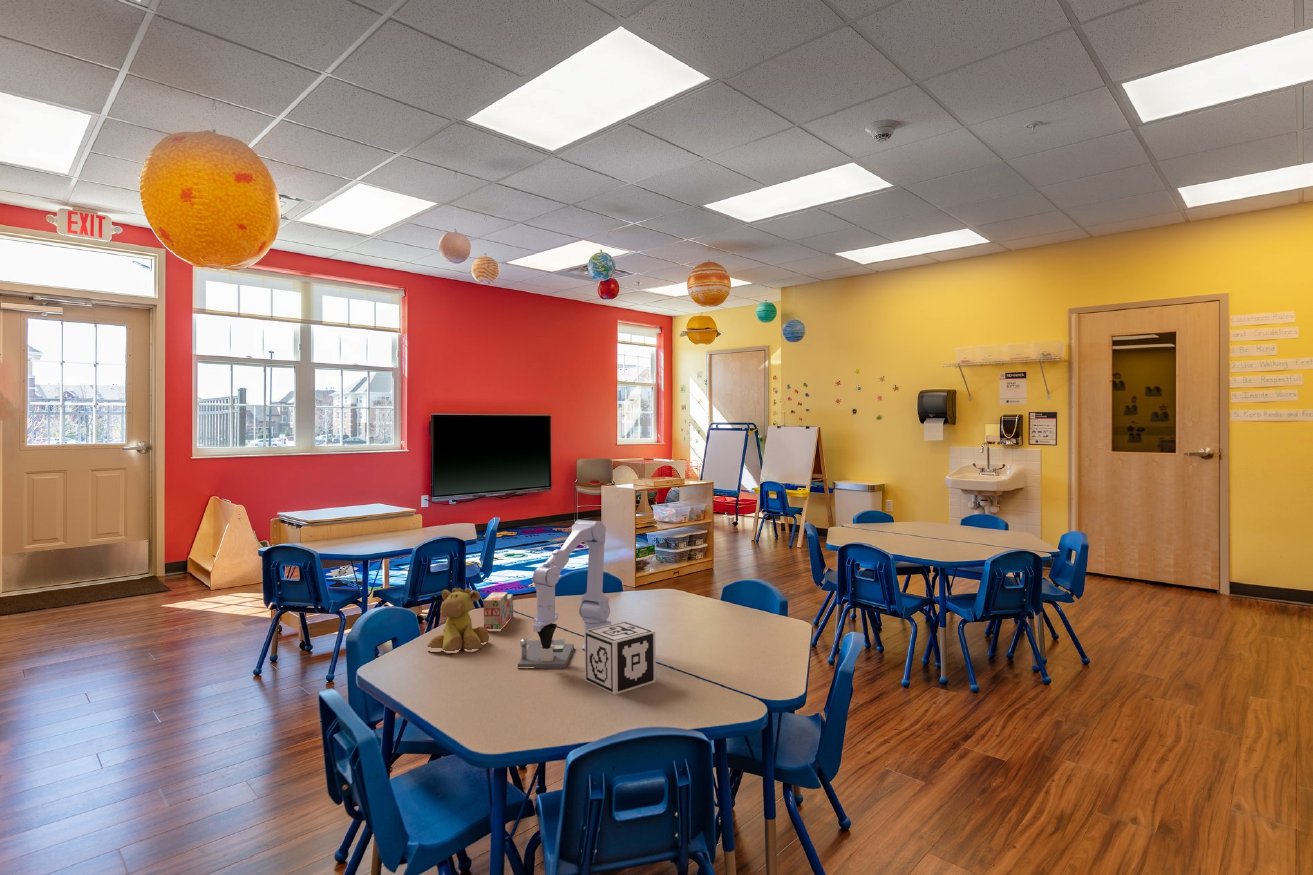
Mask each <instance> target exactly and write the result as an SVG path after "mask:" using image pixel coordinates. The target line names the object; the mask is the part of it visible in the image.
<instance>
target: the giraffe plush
mask: <svg viewBox="0 0 1313 875" xmlns="http://www.w3.org/2000/svg"><path fill="white" fill-rule="evenodd" d="M441 597H442V599H443V600H444V601H442V603H441V605H440V612H441V615H442V616H444V617H446V620H445V625H444V628H442V630H443V632H442V634H438V635H435V636H434V637H433V638H432V639H431V640H429V642H428V643H427V646H428V647H431V648H442V649H443V650H445V651H455V650H459V649H461V650H462V649H463V650H464V649H467V650H472V649H479V648H480V649H481V648H482V646H483V645H482V644H481V643H484V642H488V641H489V640H490V635H489V632H488V630H487V629H486V628H484V626H478V627H473V624H472V622H473V621H472V618H471V615H470V614H469V613H470V612H471V610H472V608H473V605H474V602H476V601H479V600H480V599H481V593H479V592H478V591H477V590H472V591H471V588H469V587H466V588H465V589H462V588H456V587H454V588H452V590H451V591H449V590H448V589H443V590H442V591H441ZM480 649H479V650H480Z"/></svg>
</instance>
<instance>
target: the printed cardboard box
mask: <svg viewBox="0 0 1313 875" xmlns="http://www.w3.org/2000/svg"><path fill="white" fill-rule="evenodd" d="M512 616H513V617H514V594H510V593H509V594H508V592H507V591H505V592H504V591H503V592H501V591H500V592H499V591H498V592H495V591H494V592H491V593H490V594H489V595H488V596H487V597H486V598H484V599H483V627H484V628H486V629H501V628H502V627H503V626H504V625H505V624H506V622H507V621H508V620H509V619H510V618H512ZM512 619H513V618H512Z"/></svg>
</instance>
